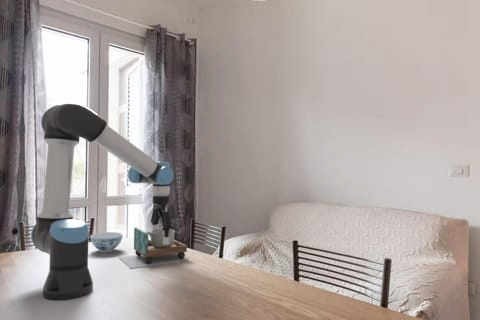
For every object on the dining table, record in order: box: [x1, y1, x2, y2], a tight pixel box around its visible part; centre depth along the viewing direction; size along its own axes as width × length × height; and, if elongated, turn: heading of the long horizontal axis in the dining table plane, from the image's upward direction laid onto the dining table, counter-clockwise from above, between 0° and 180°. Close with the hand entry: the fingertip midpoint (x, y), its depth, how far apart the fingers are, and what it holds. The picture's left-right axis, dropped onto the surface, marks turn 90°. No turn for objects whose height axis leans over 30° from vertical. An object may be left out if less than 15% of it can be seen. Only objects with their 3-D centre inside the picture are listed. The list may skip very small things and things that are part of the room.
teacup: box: [145, 228, 176, 249], centre depth 162 cm, size 14×11×8 cm
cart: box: [133, 226, 188, 263], centre depth 161 cm, size 17×19×13 cm
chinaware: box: [89, 231, 123, 253], centre depth 173 cm, size 15×15×8 cm
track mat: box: [118, 253, 189, 270], centre depth 160 cm, size 19×26×1 cm
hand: (160, 241), depth 161 cm, fingers open, 13 cm apart
